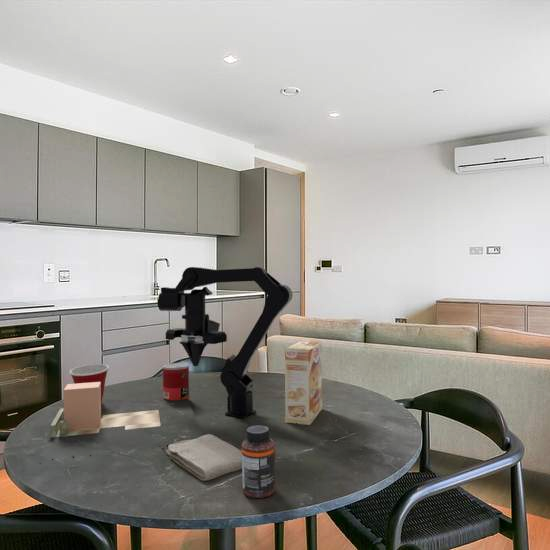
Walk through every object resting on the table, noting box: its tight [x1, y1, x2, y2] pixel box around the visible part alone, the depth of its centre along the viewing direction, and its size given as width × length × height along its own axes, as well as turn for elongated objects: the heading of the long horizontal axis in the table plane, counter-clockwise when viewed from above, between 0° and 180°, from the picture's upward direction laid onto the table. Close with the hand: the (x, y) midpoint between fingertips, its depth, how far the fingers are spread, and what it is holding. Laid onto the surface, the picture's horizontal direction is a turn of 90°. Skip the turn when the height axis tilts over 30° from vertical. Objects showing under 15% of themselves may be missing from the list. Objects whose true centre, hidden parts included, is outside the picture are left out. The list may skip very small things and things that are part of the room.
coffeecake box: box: [284, 340, 323, 426], centre depth 123 cm, size 15×7×20 cm, turn 161°
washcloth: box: [165, 433, 242, 481], centre depth 95 cm, size 12×18×3 cm, turn 40°
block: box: [63, 382, 102, 431], centre depth 113 cm, size 8×6×10 cm
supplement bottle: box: [241, 425, 276, 499], centre depth 81 cm, size 6×6×11 cm
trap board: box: [50, 407, 161, 439], centre depth 115 cm, size 25×14×4 cm, turn 107°
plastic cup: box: [69, 363, 110, 405], centre depth 132 cm, size 11×11×12 cm
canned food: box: [162, 362, 190, 401], centre depth 139 cm, size 8×8×11 cm
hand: (195, 365), depth 128 cm, fingers closed
